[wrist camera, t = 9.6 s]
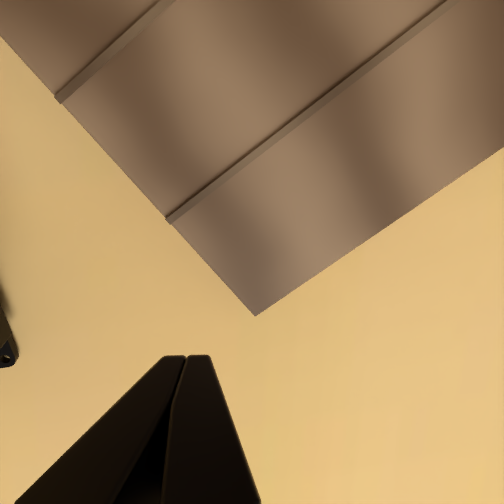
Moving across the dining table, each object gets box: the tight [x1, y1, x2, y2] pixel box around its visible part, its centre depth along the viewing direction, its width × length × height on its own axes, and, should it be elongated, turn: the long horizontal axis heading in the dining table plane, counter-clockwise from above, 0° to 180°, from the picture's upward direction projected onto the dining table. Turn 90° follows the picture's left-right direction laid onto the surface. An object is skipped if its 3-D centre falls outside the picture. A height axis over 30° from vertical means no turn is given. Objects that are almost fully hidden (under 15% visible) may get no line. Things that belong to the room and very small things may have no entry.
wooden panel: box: [0, 0, 504, 316], centre depth 17 cm, size 16×18×2 cm
